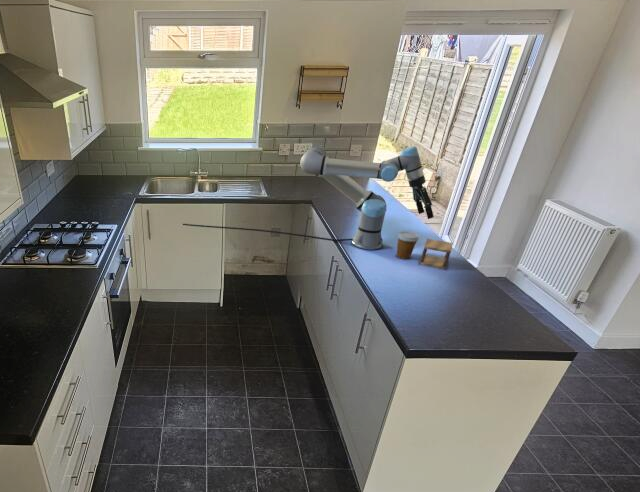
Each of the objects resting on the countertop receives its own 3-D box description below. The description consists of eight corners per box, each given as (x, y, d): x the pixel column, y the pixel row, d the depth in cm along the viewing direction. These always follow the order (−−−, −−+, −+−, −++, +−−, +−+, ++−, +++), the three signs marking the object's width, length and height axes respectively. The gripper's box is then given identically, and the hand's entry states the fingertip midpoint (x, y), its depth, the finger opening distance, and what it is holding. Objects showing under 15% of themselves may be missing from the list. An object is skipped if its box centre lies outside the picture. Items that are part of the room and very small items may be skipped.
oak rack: (419, 264, 213) (424, 246, 209) (422, 256, 222) (427, 238, 217) (445, 269, 208) (451, 250, 203) (447, 260, 217) (452, 242, 212)
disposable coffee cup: (401, 261, 216) (407, 238, 210) (389, 254, 224) (394, 232, 218) (417, 259, 218) (423, 236, 212) (404, 252, 226) (410, 230, 220)
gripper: (432, 177, 211) (442, 217, 217) (415, 171, 234) (425, 208, 240) (416, 183, 213) (427, 223, 219) (400, 177, 236) (411, 213, 242)
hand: (426, 215), depth 230 cm, fingers open, 13 cm apart
